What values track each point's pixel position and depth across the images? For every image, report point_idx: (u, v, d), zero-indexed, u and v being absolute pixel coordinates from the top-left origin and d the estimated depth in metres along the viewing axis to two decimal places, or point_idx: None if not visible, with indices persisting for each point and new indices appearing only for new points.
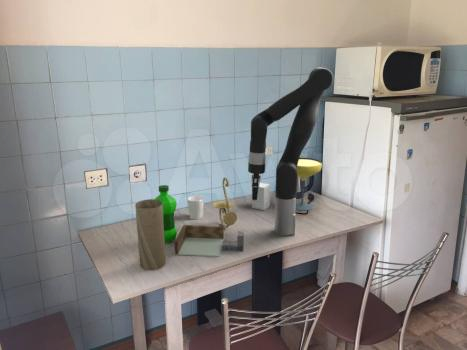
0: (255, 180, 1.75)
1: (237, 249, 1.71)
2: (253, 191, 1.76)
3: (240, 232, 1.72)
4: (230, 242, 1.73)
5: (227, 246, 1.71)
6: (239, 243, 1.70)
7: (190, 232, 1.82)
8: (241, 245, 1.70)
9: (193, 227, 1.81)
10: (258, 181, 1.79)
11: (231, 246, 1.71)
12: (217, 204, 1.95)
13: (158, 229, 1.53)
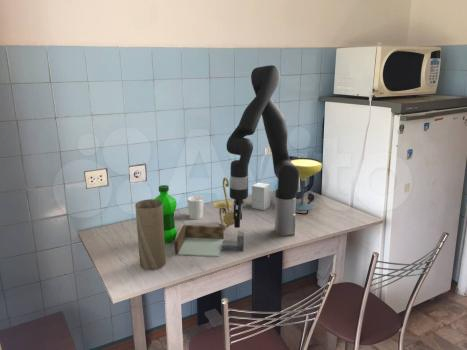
0: (236, 207, 1.61)
1: (237, 249, 1.71)
2: (235, 219, 1.62)
3: (240, 232, 1.72)
4: (230, 242, 1.73)
5: (227, 246, 1.71)
6: (239, 243, 1.70)
7: (190, 232, 1.82)
8: (241, 245, 1.70)
9: (193, 227, 1.81)
10: (240, 207, 1.65)
11: (231, 246, 1.71)
12: (217, 204, 1.95)
13: (158, 229, 1.53)
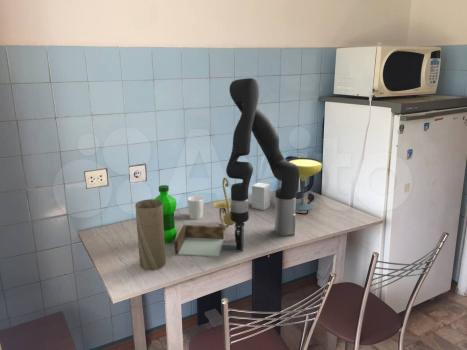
0: (238, 233, 1.64)
1: None
2: (236, 242, 1.66)
3: None
4: (230, 242, 1.73)
5: (227, 246, 1.71)
6: None
7: (190, 232, 1.82)
8: None
9: (193, 227, 1.81)
10: (241, 230, 1.68)
11: (231, 246, 1.71)
12: (217, 204, 1.95)
13: (158, 229, 1.53)
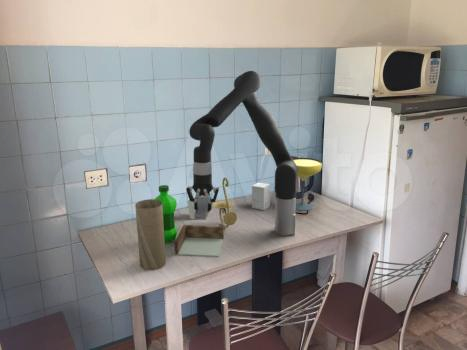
0: (218, 190, 1.69)
1: None
2: None
3: (200, 196, 1.71)
4: (200, 210, 1.68)
5: (206, 213, 1.67)
6: None
7: (190, 232, 1.82)
8: None
9: (193, 227, 1.81)
10: None
11: (207, 211, 1.69)
12: (217, 204, 1.95)
13: (158, 229, 1.53)
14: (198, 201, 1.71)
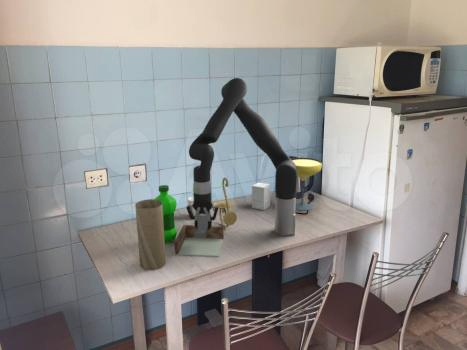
0: None
1: (208, 229, 1.75)
2: (214, 219, 1.73)
3: (200, 214, 1.74)
4: (200, 228, 1.71)
5: (206, 231, 1.70)
6: None
7: (190, 232, 1.82)
8: None
9: (193, 227, 1.81)
10: None
11: (207, 229, 1.72)
12: (217, 204, 1.95)
13: (158, 229, 1.53)
14: (198, 219, 1.74)
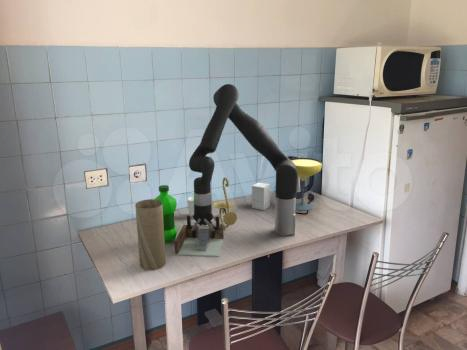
0: (218, 217, 1.73)
1: (208, 242, 1.76)
2: (218, 229, 1.74)
3: (201, 227, 1.76)
4: (200, 241, 1.73)
5: (207, 244, 1.72)
6: (208, 235, 1.76)
7: (190, 232, 1.82)
8: (209, 236, 1.77)
9: None
10: None
11: (207, 242, 1.73)
12: (217, 204, 1.95)
13: (158, 229, 1.53)
14: (199, 232, 1.75)
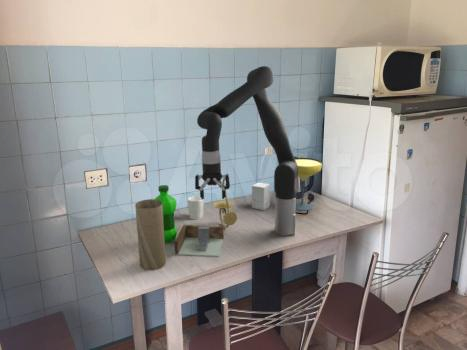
0: (228, 176, 1.69)
1: (208, 242, 1.76)
2: None
3: (201, 227, 1.76)
4: (200, 241, 1.73)
5: (207, 244, 1.72)
6: (208, 235, 1.76)
7: (190, 232, 1.82)
8: (209, 236, 1.77)
9: (193, 227, 1.81)
10: None
11: (207, 242, 1.73)
12: (217, 204, 1.95)
13: (158, 229, 1.53)
14: (199, 232, 1.75)
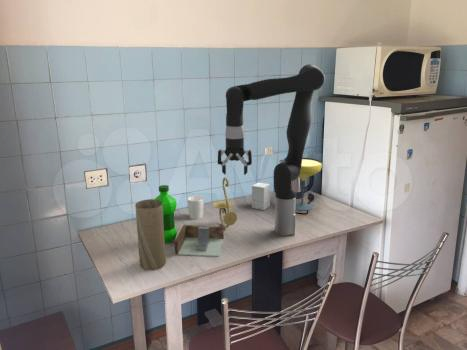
0: None
1: (208, 242, 1.76)
2: None
3: (201, 227, 1.76)
4: (200, 241, 1.73)
5: (207, 244, 1.72)
6: (208, 235, 1.76)
7: (190, 232, 1.82)
8: (209, 236, 1.77)
9: (193, 227, 1.81)
10: None
11: (207, 242, 1.73)
12: (217, 204, 1.95)
13: (158, 229, 1.53)
14: (199, 232, 1.75)
